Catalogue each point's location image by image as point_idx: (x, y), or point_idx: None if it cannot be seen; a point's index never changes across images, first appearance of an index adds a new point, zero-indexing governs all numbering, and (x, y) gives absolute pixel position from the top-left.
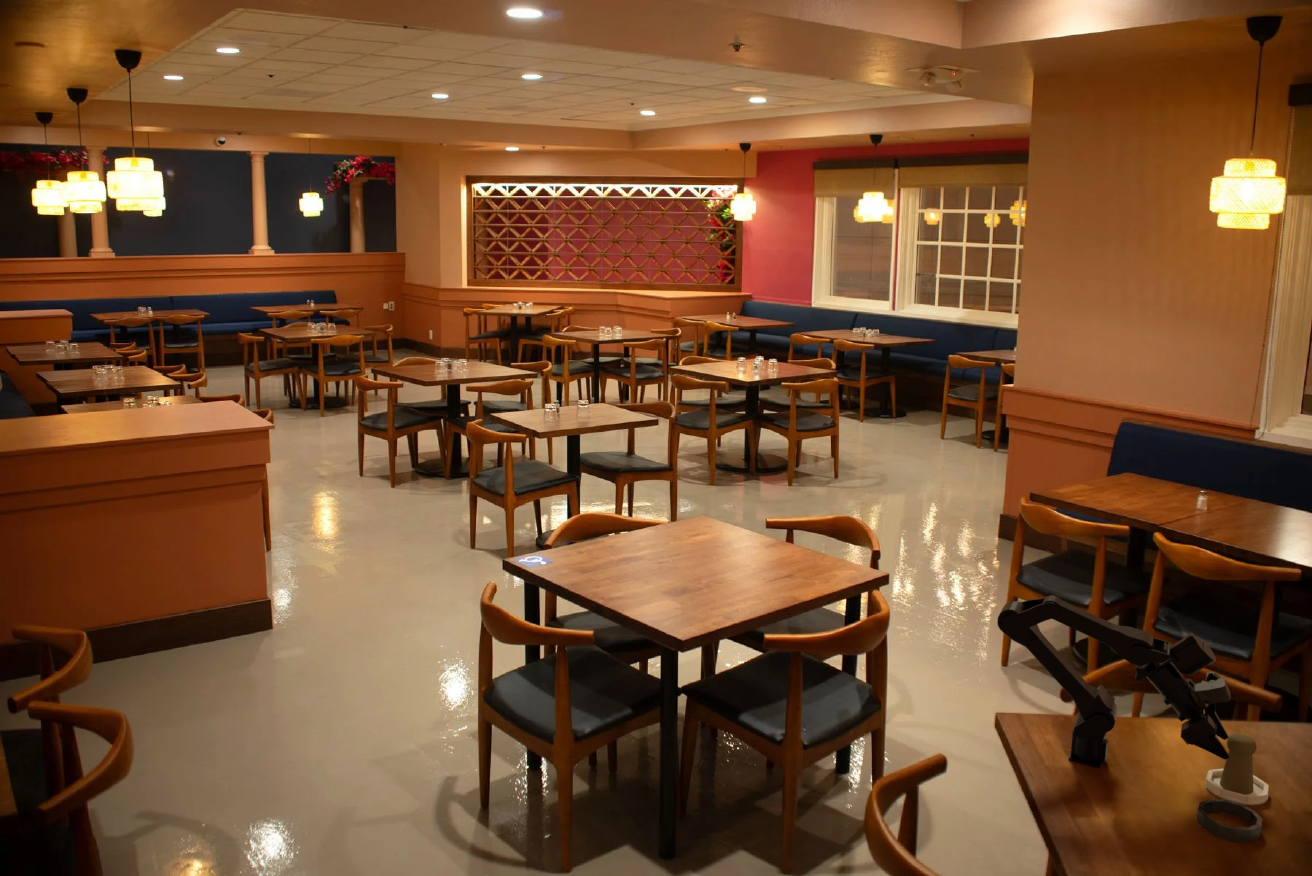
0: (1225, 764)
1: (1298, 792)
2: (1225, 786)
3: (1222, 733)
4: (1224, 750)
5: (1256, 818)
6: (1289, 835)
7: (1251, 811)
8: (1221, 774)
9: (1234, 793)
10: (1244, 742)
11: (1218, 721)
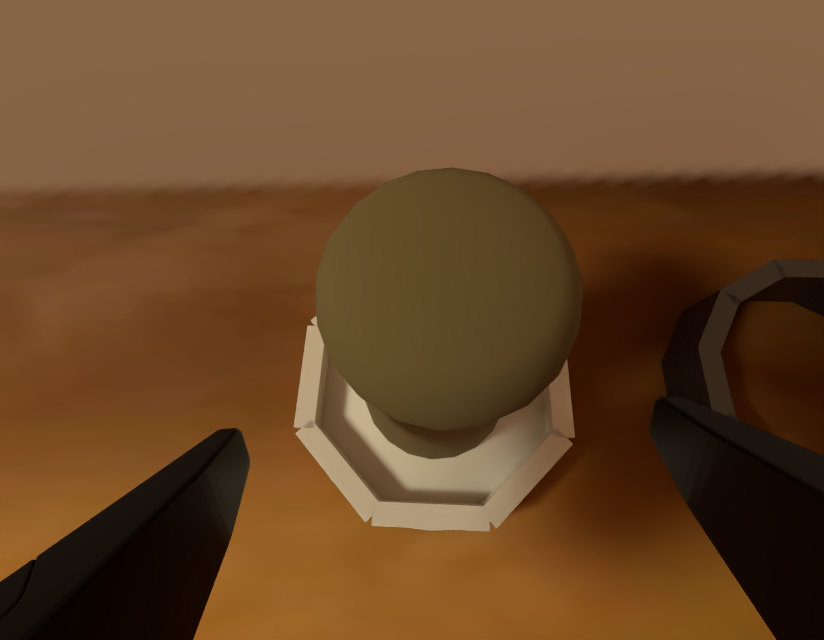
0: (458, 434)
1: (323, 190)
2: (493, 428)
3: (220, 489)
4: (777, 437)
5: (776, 281)
6: (678, 204)
7: (736, 301)
8: (346, 456)
9: (565, 383)
10: (559, 241)
11: (97, 587)
